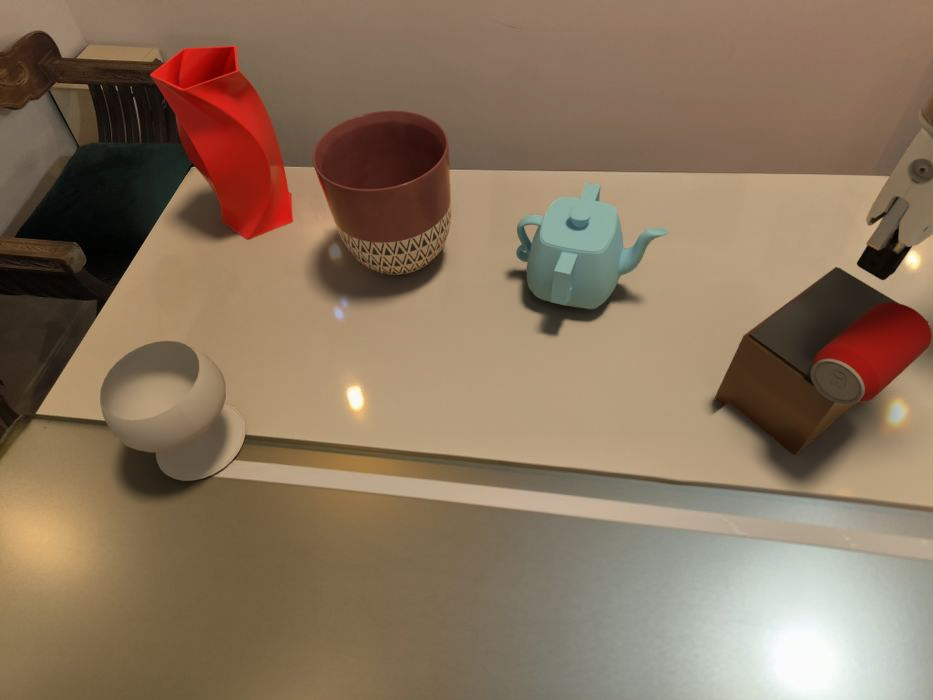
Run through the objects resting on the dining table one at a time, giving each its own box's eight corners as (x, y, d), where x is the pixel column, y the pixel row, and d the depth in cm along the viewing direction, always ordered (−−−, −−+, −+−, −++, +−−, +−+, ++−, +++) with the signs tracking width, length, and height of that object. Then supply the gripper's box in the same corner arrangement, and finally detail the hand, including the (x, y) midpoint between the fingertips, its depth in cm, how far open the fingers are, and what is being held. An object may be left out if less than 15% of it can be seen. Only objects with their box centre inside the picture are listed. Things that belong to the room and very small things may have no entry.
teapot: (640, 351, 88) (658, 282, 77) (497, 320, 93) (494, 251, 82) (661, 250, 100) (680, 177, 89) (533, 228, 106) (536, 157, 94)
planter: (326, 287, 100) (287, 178, 83) (373, 212, 111) (347, 103, 94) (436, 310, 95) (419, 200, 79) (474, 229, 107) (466, 118, 90)
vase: (310, 195, 116) (262, 47, 94) (279, 245, 107) (218, 96, 85) (239, 187, 119) (176, 42, 97) (203, 236, 110) (125, 90, 88)
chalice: (273, 438, 83) (232, 375, 71) (181, 509, 77) (121, 453, 65) (219, 382, 89) (174, 315, 78) (132, 443, 84) (69, 381, 72)
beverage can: (862, 334, 71) (798, 388, 67) (878, 288, 66) (810, 343, 62) (924, 362, 66) (860, 422, 62) (946, 315, 62) (878, 377, 58)
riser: (797, 334, 88) (837, 264, 77) (875, 387, 82) (931, 319, 71) (713, 398, 82) (744, 333, 71) (790, 461, 76) (837, 400, 65)
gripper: (977, 164, 45) (865, 325, 59) (1074, 92, 50) (948, 257, 64) (881, 122, 49) (798, 282, 63) (980, 59, 54) (881, 221, 68)
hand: (874, 269), depth 64 cm, fingers closed
